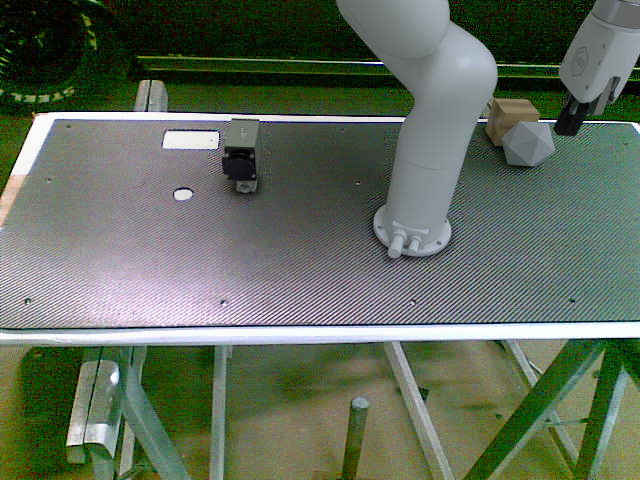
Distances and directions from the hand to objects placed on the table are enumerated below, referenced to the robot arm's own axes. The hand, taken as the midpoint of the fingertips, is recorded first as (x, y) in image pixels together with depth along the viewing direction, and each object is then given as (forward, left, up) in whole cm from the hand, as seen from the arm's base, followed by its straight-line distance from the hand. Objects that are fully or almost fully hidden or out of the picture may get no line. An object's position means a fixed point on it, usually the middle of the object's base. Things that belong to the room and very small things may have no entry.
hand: (563, 133), depth 75 cm
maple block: (+19, +6, -14) cm, 24 cm away
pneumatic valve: (-16, +49, -14) cm, 53 cm away
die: (+12, +3, -14) cm, 18 cm away
